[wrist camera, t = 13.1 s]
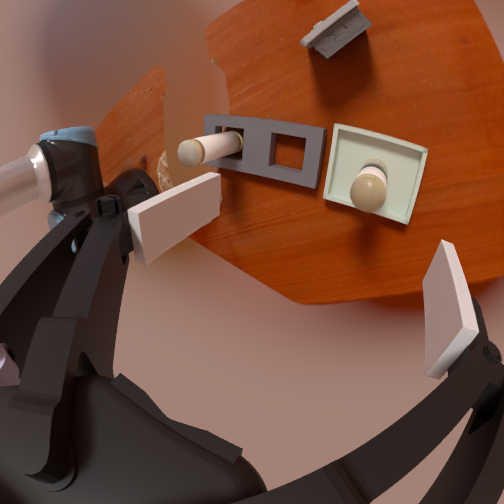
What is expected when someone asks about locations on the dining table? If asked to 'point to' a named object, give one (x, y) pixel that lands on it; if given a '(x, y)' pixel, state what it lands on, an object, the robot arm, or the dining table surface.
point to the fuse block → (269, 148)
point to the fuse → (209, 148)
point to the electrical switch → (337, 30)
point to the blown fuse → (370, 186)
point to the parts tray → (386, 150)
